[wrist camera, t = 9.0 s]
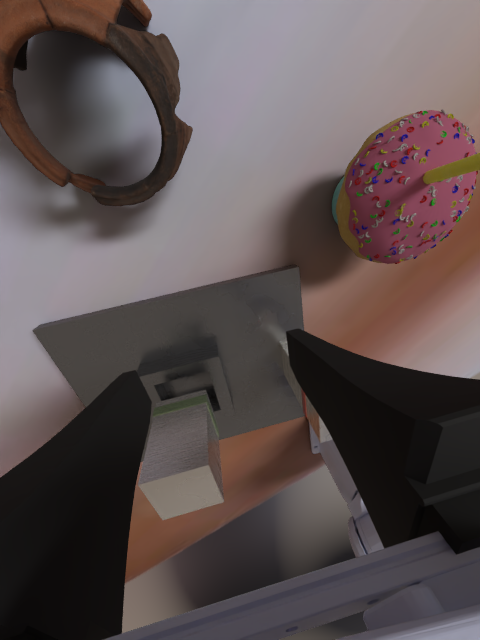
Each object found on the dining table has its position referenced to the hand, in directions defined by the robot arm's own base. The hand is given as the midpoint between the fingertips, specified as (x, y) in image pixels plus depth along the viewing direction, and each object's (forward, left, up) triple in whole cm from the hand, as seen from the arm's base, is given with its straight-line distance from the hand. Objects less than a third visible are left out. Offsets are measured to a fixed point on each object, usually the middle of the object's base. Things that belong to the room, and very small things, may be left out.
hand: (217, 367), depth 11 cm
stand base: (-8, +4, -10) cm, 14 cm away
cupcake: (+5, -14, -11) cm, 18 cm away
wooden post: (-8, +4, -6) cm, 11 cm away
